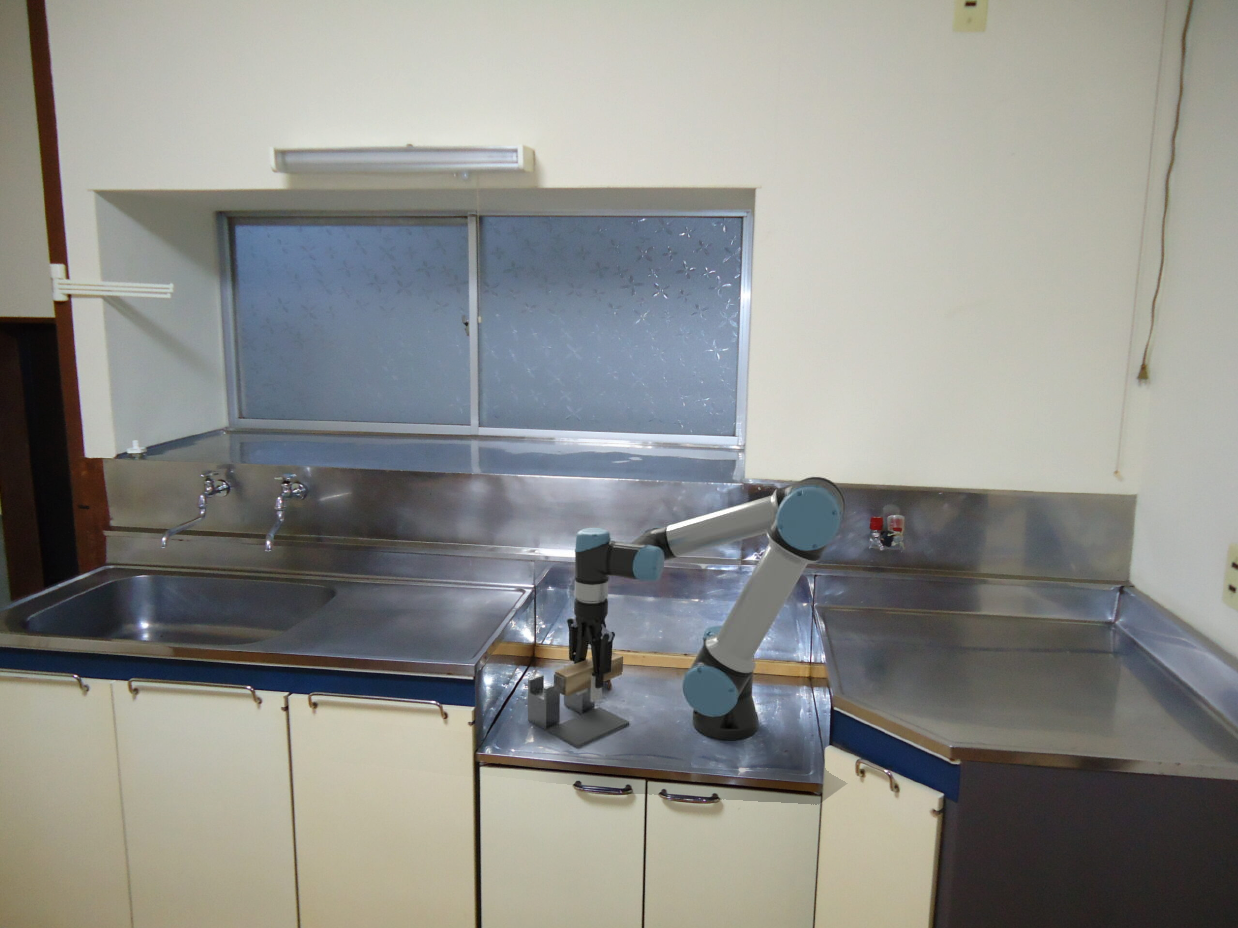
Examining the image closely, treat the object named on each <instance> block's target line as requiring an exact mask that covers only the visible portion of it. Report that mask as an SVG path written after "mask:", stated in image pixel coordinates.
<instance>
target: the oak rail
mask: <svg viewBox="0 0 1238 928" xmlns="http://www.w3.org/2000/svg"><path fill="white" fill-rule="evenodd" d="M586 659H587V660H584V661H582V662H579V663H576V664H573V665H571V666H568V667H565V668H564V667H563V668H559V669H557V670H555V671H554V673H553V684H554V690H555V691H557V692H558V693H560V695H562V696H563V697H564V696H566V697H567V696H569V695H572V694H574V693H577V692H579V691H582V690H584V689H587V688H589V687H591V673H594V670H593V661H592V657H590V658H586ZM623 671H624V656H623V655H621V654H618V653H616V652H614V651H612V662H611V672H609V673H607V674H604V681H603V683H606V682H605V681H607V680H610V681H611V680H612V679H615V678H617V677H619V676H622V675H623Z"/></svg>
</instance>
